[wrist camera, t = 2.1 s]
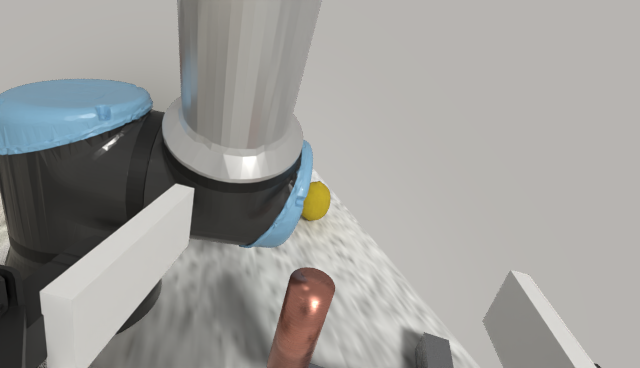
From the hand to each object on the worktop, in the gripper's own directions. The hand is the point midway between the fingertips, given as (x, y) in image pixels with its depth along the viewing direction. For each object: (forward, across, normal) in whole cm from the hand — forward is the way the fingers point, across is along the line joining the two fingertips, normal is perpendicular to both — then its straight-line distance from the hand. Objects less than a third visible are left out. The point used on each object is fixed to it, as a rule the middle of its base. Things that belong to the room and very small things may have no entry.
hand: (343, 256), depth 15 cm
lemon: (+44, -2, -23) cm, 50 cm away
